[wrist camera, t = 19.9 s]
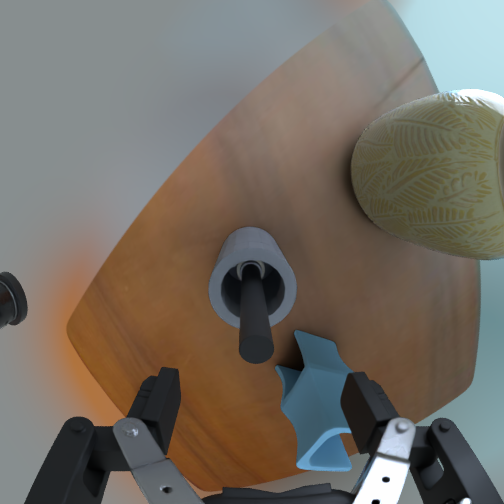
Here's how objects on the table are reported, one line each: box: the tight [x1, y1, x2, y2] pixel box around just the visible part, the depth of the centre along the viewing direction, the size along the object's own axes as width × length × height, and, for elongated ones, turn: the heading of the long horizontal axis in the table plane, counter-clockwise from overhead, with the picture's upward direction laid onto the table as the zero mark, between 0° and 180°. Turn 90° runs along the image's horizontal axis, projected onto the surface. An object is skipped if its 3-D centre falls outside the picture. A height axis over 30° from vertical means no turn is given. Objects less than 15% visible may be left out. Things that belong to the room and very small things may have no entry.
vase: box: [351, 90, 504, 260], centre depth 23 cm, size 17×17×27 cm
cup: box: [208, 227, 297, 329], centre depth 31 cm, size 8×8×14 cm
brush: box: [236, 260, 274, 364], centre depth 26 cm, size 3×3×22 cm
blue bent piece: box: [275, 330, 353, 471], centre depth 32 cm, size 8×8×20 cm
